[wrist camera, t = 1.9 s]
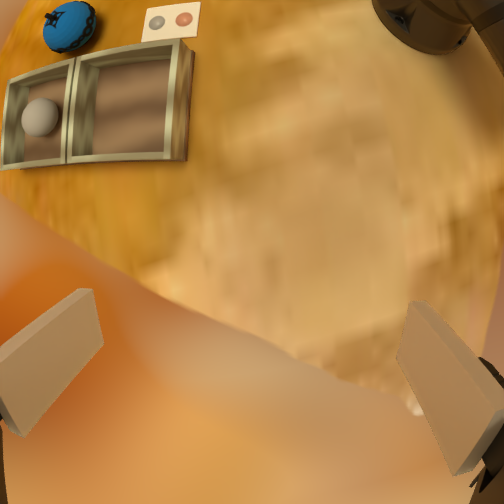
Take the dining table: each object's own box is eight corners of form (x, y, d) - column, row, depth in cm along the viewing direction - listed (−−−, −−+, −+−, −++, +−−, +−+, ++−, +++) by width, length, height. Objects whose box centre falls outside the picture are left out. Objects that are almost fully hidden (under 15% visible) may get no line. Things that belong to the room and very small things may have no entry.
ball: (40, 103, 36) (16, 99, 30) (67, 97, 35) (43, 91, 30) (37, 139, 37) (12, 139, 32) (64, 135, 37) (39, 134, 31)
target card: (147, 9, 32) (146, 8, 32) (201, 2, 32) (200, 1, 31) (142, 43, 34) (140, 42, 33) (196, 37, 33) (195, 35, 33)
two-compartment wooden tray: (30, 84, 36) (7, 79, 30) (195, 52, 34) (181, 36, 28) (24, 169, 40) (-1, 172, 34) (187, 161, 38) (171, 160, 32)
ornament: (55, 53, 34) (16, 39, 25) (80, 9, 32) (46, -12, 22) (88, 63, 35) (49, 46, 25) (116, 15, 32) (83, -10, 23)
